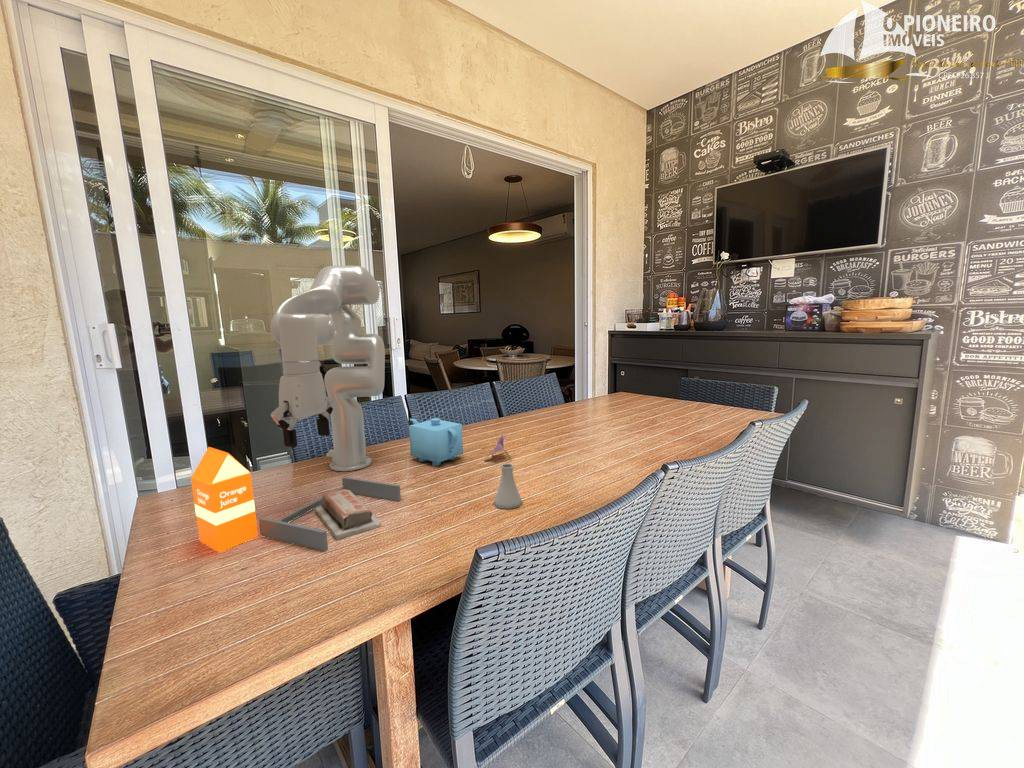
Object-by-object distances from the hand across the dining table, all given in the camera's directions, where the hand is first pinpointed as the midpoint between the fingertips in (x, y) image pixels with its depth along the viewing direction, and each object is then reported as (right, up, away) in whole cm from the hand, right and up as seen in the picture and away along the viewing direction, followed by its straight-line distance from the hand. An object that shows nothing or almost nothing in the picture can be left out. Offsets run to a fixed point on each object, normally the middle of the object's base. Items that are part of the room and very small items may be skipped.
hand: (308, 440), depth 100 cm
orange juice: (-13, -20, -9) cm, 25 cm away
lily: (+44, -12, +40) cm, 60 cm away
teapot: (+22, -12, +41) cm, 48 cm away
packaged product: (+9, -19, 0) cm, 21 cm away
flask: (+47, -17, +6) cm, 50 cm away
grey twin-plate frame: (+6, -18, +1) cm, 19 cm away
